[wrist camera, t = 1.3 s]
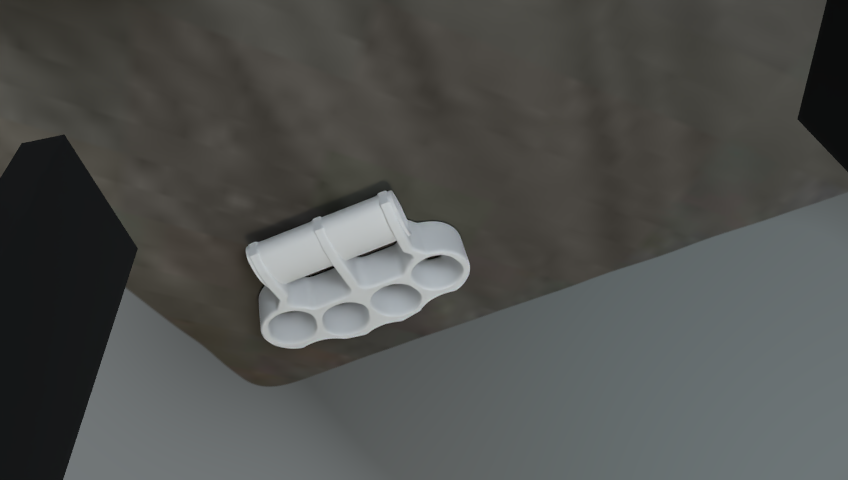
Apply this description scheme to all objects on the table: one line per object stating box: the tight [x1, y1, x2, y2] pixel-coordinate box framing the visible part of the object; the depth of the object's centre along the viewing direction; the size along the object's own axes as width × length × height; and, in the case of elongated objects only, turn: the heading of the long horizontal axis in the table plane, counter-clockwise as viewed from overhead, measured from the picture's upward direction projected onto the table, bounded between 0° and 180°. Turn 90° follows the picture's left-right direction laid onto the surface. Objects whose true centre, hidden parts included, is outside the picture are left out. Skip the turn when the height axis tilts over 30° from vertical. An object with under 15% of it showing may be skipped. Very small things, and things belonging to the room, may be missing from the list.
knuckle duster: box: [246, 190, 470, 349], centre depth 54 cm, size 3×18×15 cm
